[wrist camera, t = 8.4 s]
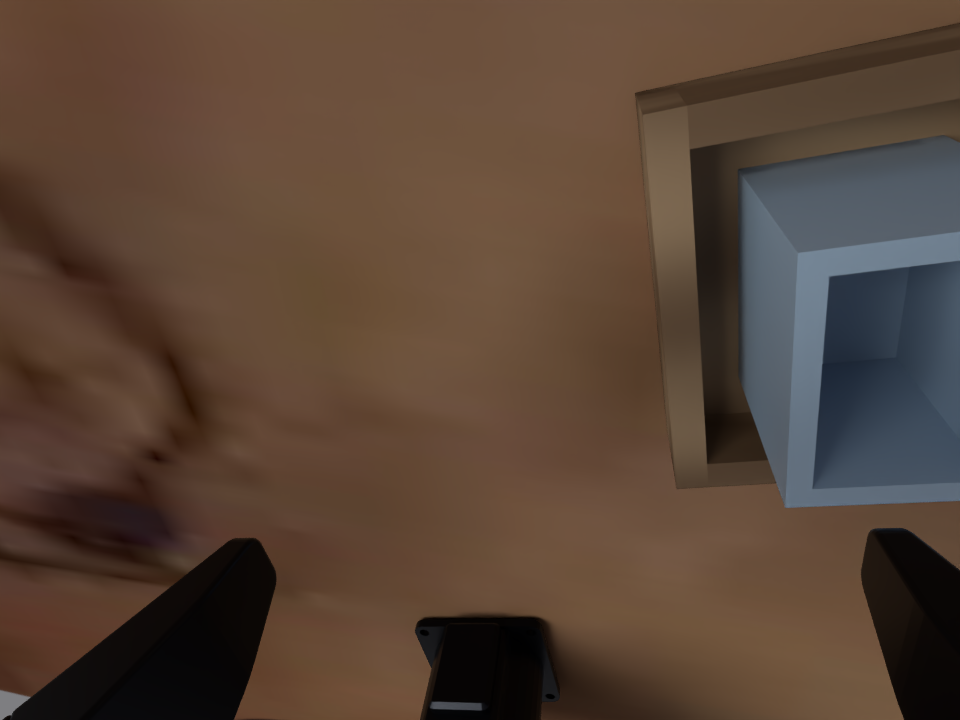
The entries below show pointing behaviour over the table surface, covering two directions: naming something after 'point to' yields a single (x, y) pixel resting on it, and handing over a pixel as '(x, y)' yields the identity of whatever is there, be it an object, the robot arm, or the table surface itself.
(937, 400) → the small crate
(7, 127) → the table surface
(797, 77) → the walnut crate
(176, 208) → the table surface
